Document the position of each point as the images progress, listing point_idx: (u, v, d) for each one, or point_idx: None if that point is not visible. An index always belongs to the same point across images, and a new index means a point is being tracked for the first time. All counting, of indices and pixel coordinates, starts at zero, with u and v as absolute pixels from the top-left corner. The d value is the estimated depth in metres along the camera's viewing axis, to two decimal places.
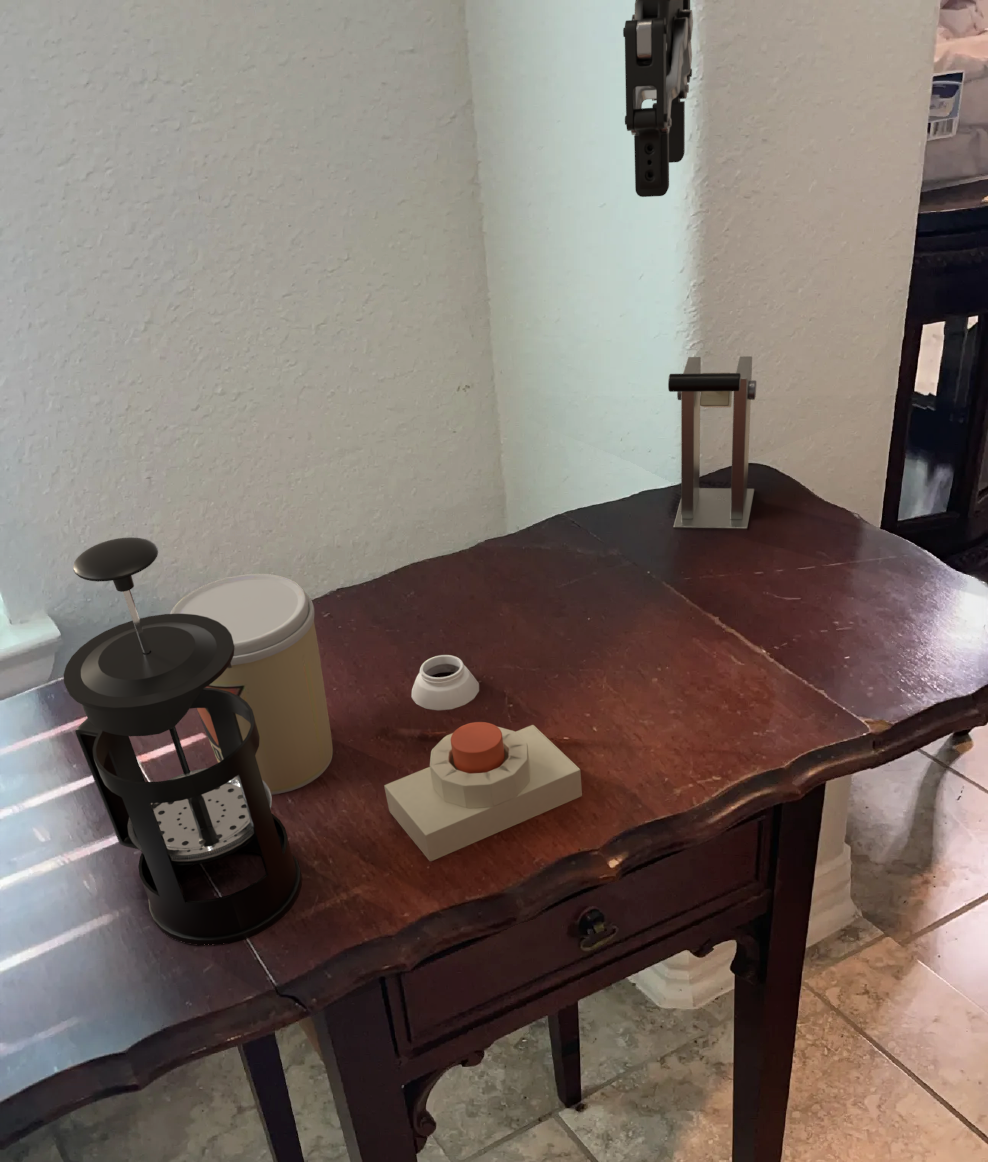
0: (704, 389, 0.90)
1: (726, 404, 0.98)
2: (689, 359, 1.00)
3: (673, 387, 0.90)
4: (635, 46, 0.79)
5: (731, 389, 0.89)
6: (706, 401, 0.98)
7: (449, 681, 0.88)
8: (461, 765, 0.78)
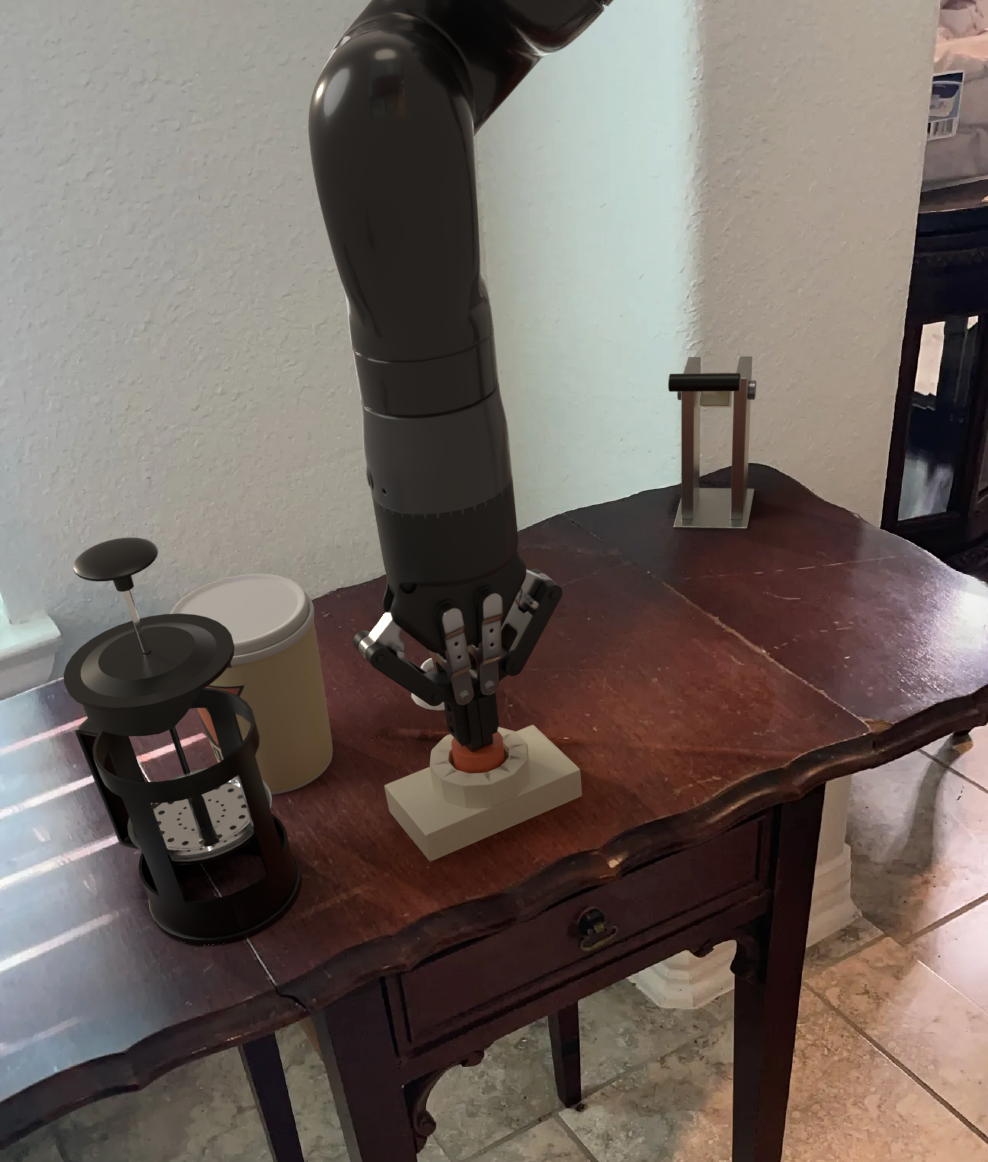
0: (704, 389, 0.90)
1: (726, 404, 0.98)
2: (689, 359, 1.00)
3: (673, 387, 0.90)
4: None
5: (731, 389, 0.89)
6: (706, 401, 0.98)
7: None
8: (462, 769, 0.78)
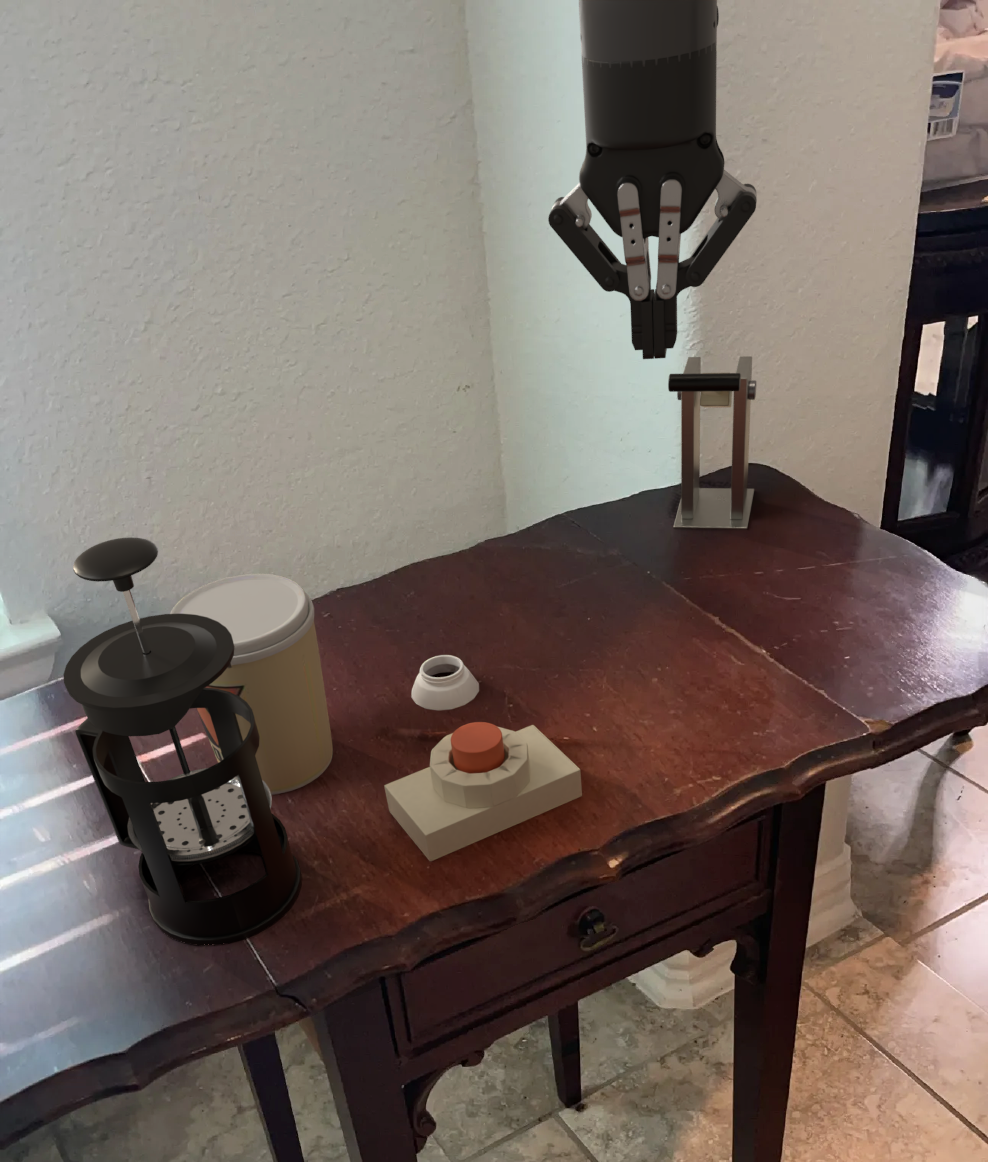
0: (704, 389, 0.90)
1: (726, 404, 0.98)
2: (689, 359, 1.00)
3: (673, 387, 0.90)
4: None
5: (731, 389, 0.89)
6: (706, 401, 0.98)
7: (449, 681, 0.88)
8: (461, 765, 0.78)
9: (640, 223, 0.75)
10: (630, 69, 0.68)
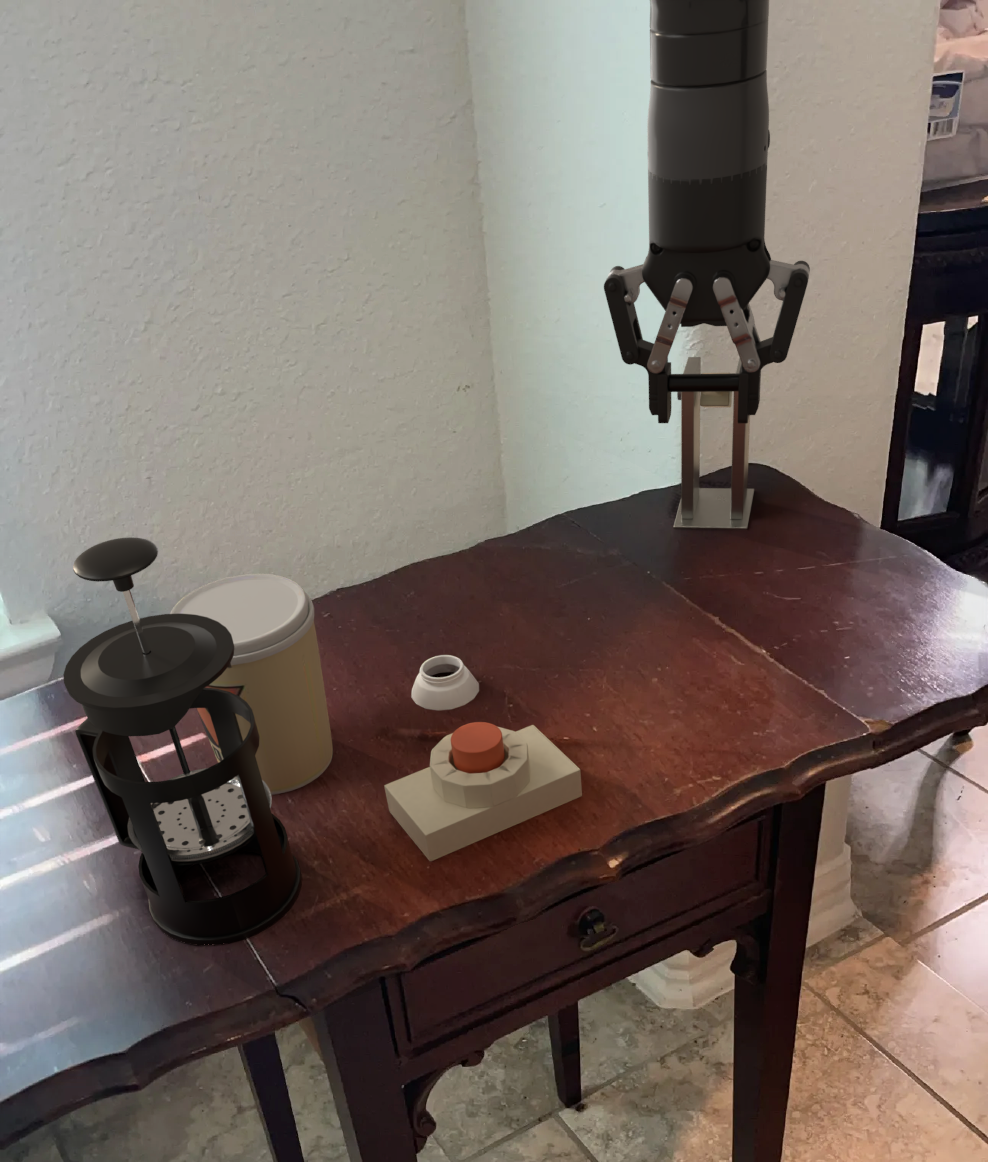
0: (704, 389, 0.90)
1: (726, 404, 0.98)
2: (689, 359, 1.00)
3: (673, 387, 0.90)
4: None
5: (731, 389, 0.89)
6: (706, 401, 0.98)
7: (449, 681, 0.88)
8: (461, 765, 0.78)
9: (682, 315, 0.86)
10: (688, 186, 0.78)
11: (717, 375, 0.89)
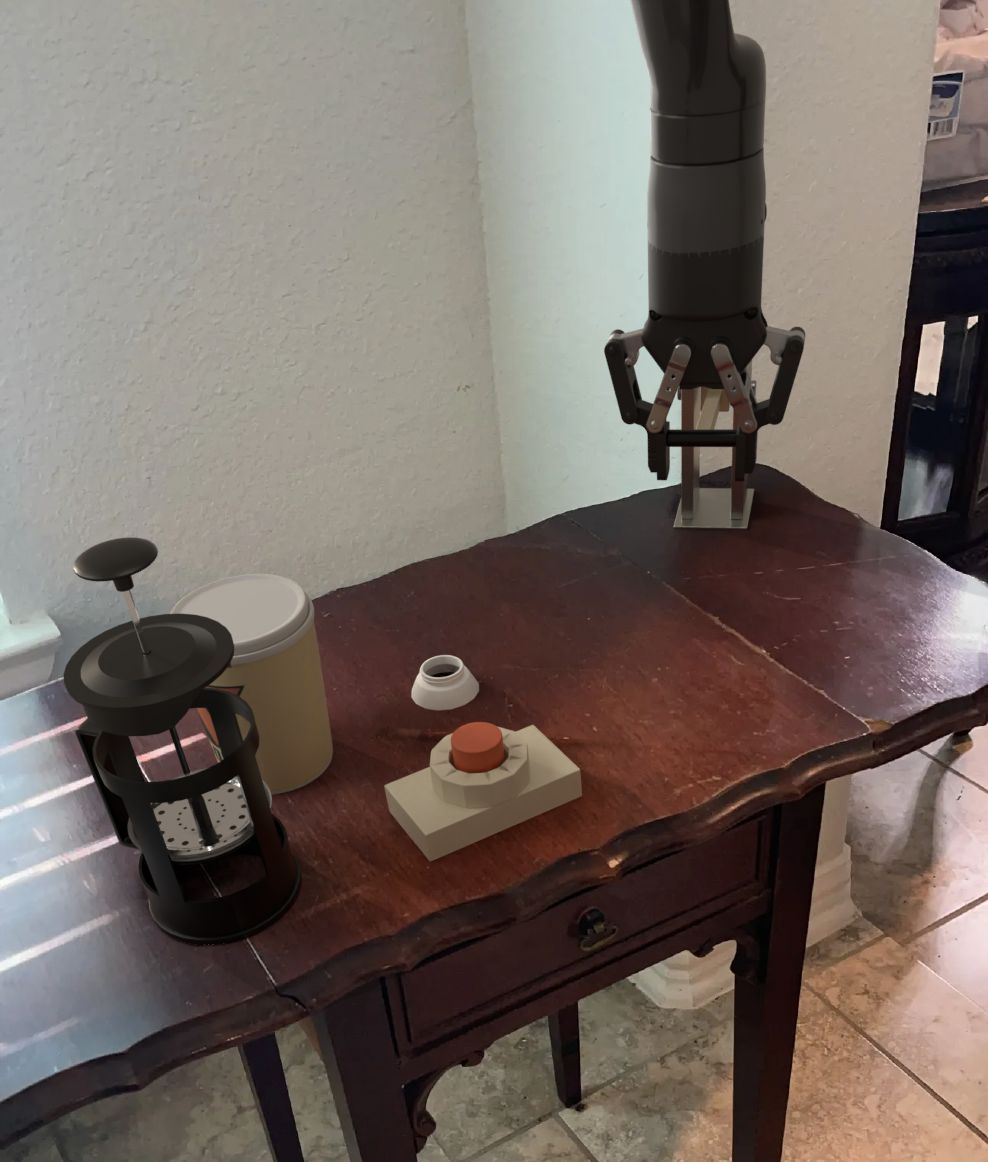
0: (702, 446, 0.92)
1: (726, 410, 0.99)
2: None
3: (672, 445, 0.92)
4: None
5: (729, 446, 0.91)
6: None
7: (449, 681, 0.88)
8: (461, 765, 0.78)
9: (680, 378, 0.88)
10: (687, 258, 0.80)
11: (714, 434, 0.91)
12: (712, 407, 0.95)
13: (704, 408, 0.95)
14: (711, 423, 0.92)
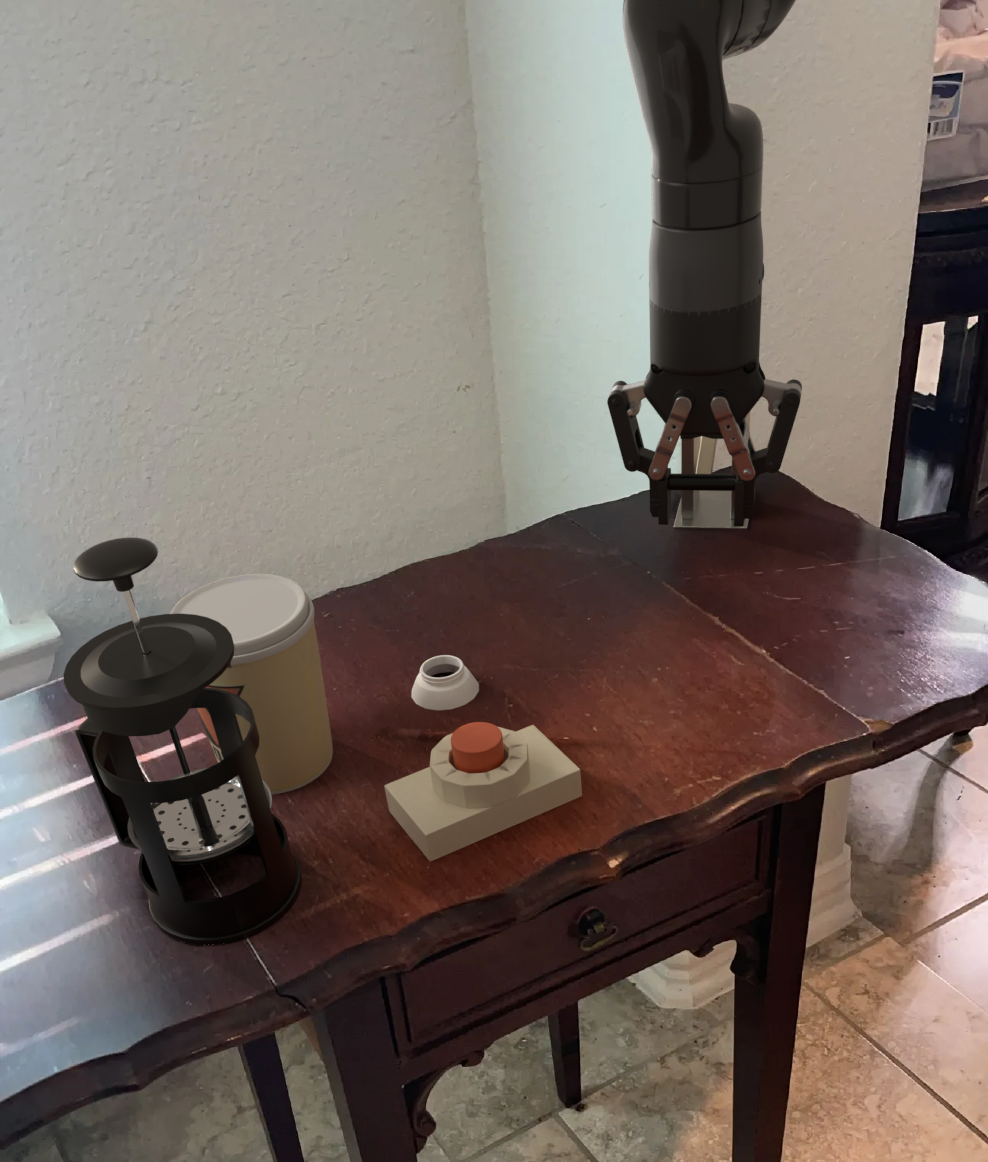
0: (703, 490, 0.95)
1: None
2: None
3: (673, 489, 0.95)
4: None
5: (728, 490, 0.94)
6: None
7: (449, 681, 0.88)
8: (461, 765, 0.78)
9: (681, 429, 0.90)
10: (687, 317, 0.83)
11: (714, 481, 0.94)
12: None
13: None
14: (711, 461, 0.95)
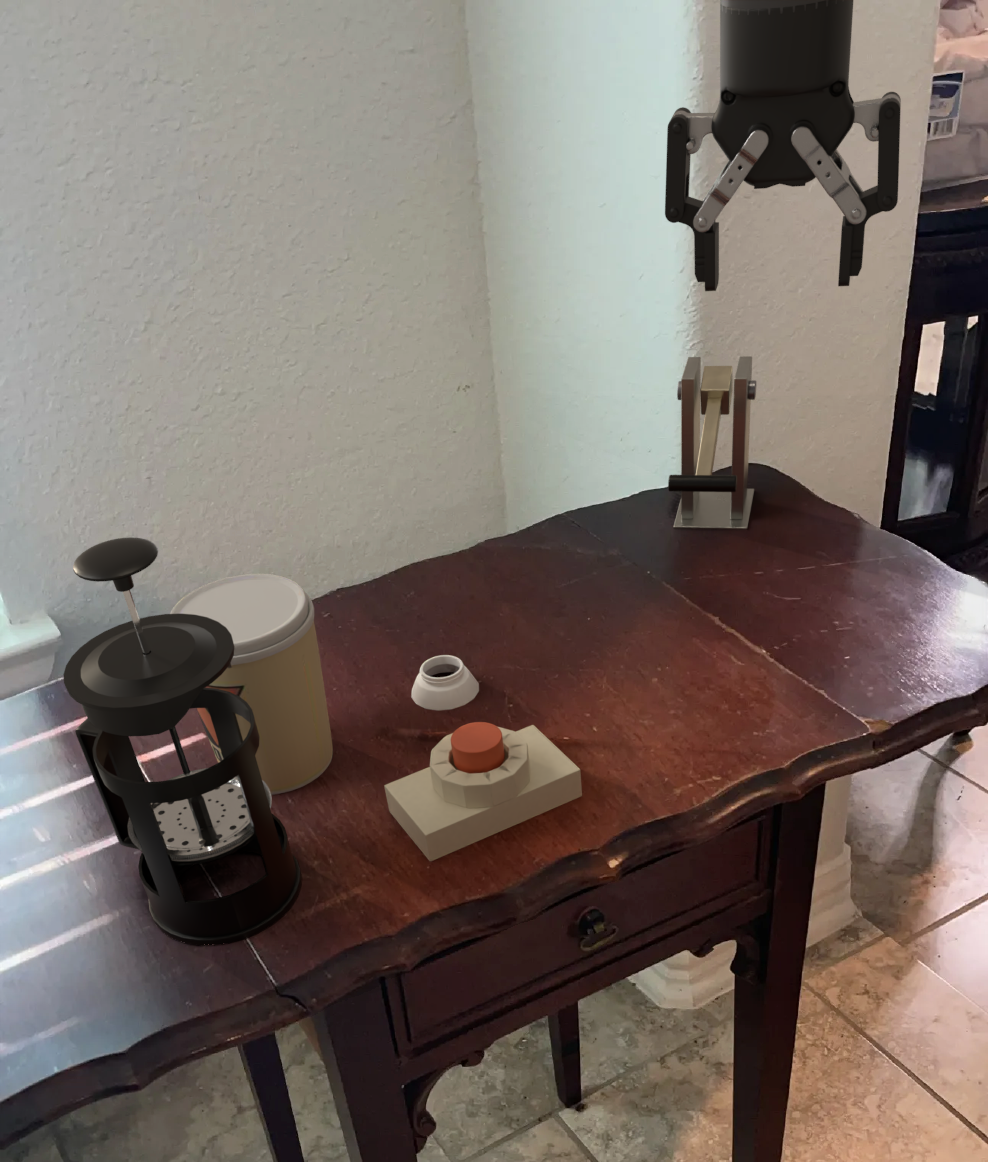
0: (703, 491, 0.95)
1: (727, 414, 0.99)
2: (689, 359, 1.00)
3: None
4: None
5: (728, 491, 0.94)
6: None
7: (449, 681, 0.88)
8: (461, 765, 0.78)
9: (747, 172, 0.78)
10: (768, 16, 0.71)
11: (714, 483, 0.94)
12: (712, 433, 0.96)
13: (704, 434, 0.96)
14: (711, 463, 0.95)
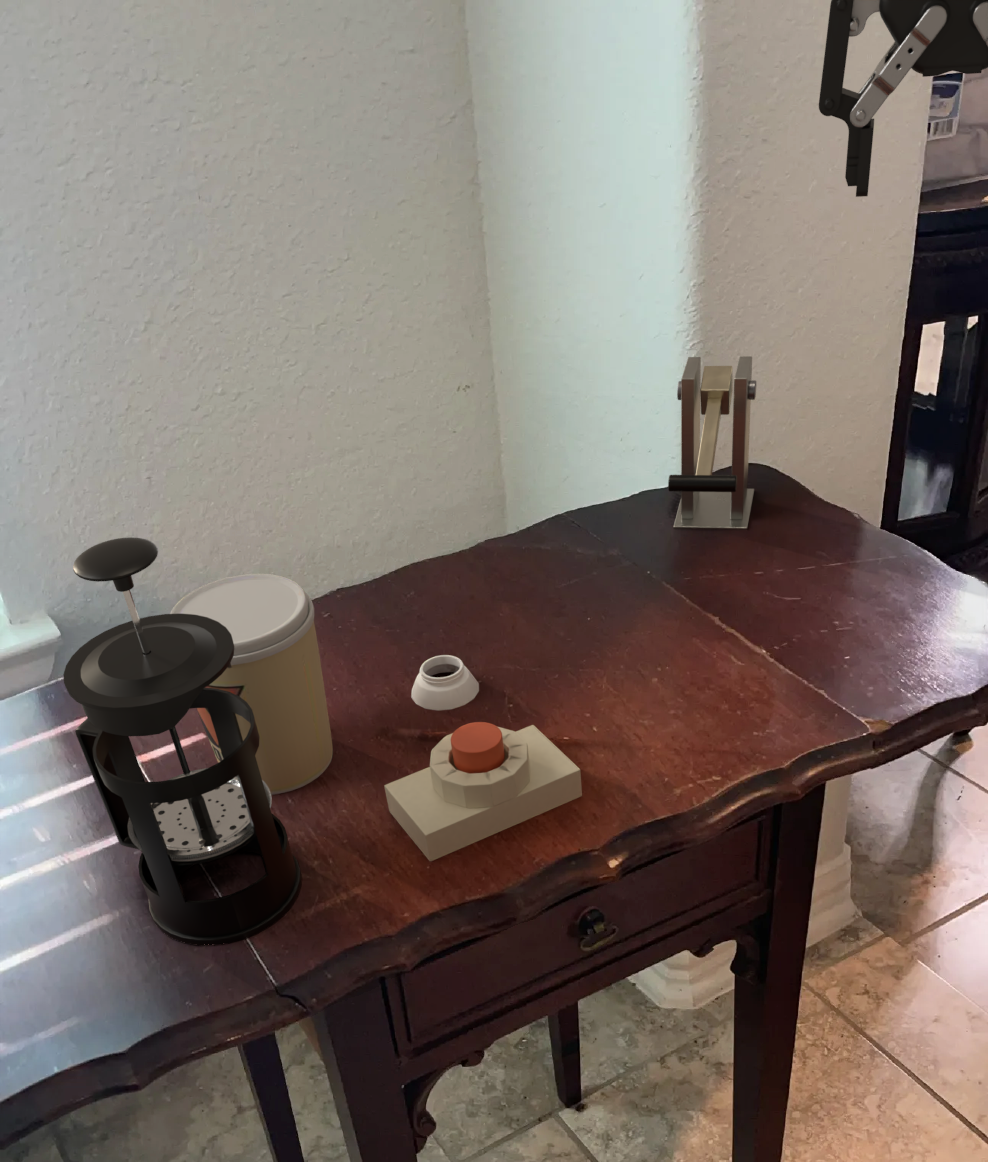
0: (703, 491, 0.95)
1: (727, 414, 0.99)
2: (689, 359, 1.00)
3: None
4: None
5: (728, 491, 0.94)
6: None
7: (449, 681, 0.88)
8: (461, 765, 0.78)
9: (918, 56, 0.70)
10: None
11: (714, 483, 0.94)
12: (712, 433, 0.96)
13: (704, 434, 0.96)
14: (711, 463, 0.95)
